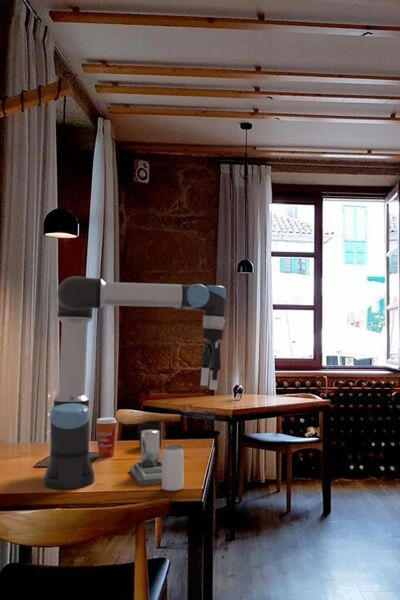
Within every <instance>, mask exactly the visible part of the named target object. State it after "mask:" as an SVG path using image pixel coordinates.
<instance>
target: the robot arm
mask: <svg viewBox="0 0 400 600" xmlns="http://www.w3.org/2000/svg"><path fill="white" fill-rule="evenodd" d="M226 301H227V289H226V287H224V286H222V285H216V284H215V285H212V284H209V285H208V284H207V285H206V286H205V285H203V284H202V283H194V284H177V283H176V284H175V283H174V284H173V283H151V282H150V283H149V282H148V283H144V282H143V283H142V282H139V283H138V282H118V281H117V282H115V281H104V280H103V278H97V277H95V278H94V277H87V276H86V277H84V276H79V275H78V276H77V275H75V276H69V277H67V278H65V279H64V280H63V281H61V283H60V284H59V286H58V288H57V319H58V320H59V321H60V322H61V332H60V333H61V336H60V338H61V339H60V354H59V355H60V359H59V378H58V379H59V381H58V384H59V385H58V394H57V396H55V397H54V398H53V407H52V409H51V410H50V411H51V413H50V416H49V419H50V420H49V421H50V453H49V456H50V457H49V462H48V464H47V466H46V469H45V470H46V471H45V473H44V475H43V476H44V477H43V485H44V486H45V487H47V488H49V489H57V490H62V489H63V490H65V489H66V490H67V489H68V490H69V489H76V488H77V489H78V488H82V487H86V486H89V485H91V484H93V483H94V482H95V470H94V469H93V465H92V461H91V458H90V418H91V417H90V416H91V415H90V398H89V397H88V396H87V395H86V379H87V378H86V375H87V374H86V373H87V372H86V371H87V349H88V348H87V345H88V324H89V323H90V322H91V321H93V313H94V311H93V309H102V308H103V307H104V306H112V307H113V306H115V307H119V306H123V307H161V308H163V307H167V308H168V307H169V308H171V307H172V308H173V309H180V310H190V311H200V312H201V311H202V312H203V317H202V327H203V328H202V331H201V333H202V334H201V338H202V339H203V340H204V342H203V350H202V355H201V359H200V366H201V372H200V373H201V375H200V386H202V387H204V386H205V387H208V386H209V387H208V389H209V390H214V391H218V383H219V371H220V370H221V368H222V365H221V342H219V341H222V340H223V339H224V330H223V328H224V325H225V323H226V320H225V313H226Z"/></svg>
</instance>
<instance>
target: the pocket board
mask: <svg viewBox="0 0 400 600" xmlns="http://www.w3.org/2000/svg"><path fill="white" fill-rule="evenodd" d="M129 472H130V474H131V476H132V477H133V478H134V480H135V481H136V483H137V484H138V486H139V487H141V486H151V485H162V460H159V467H149V468H141V461H137V462H133V465H132V466H129Z"/></svg>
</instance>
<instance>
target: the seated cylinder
mask: <svg viewBox="0 0 400 600" xmlns="http://www.w3.org/2000/svg"><path fill="white" fill-rule="evenodd" d="M140 453H141V454H140V462H141V468H149V467H159V461H160V448H159V430H143V431H141V448H140Z"/></svg>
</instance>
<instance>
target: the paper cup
mask: <svg viewBox="0 0 400 600" xmlns="http://www.w3.org/2000/svg"><path fill="white" fill-rule="evenodd" d="M117 422H118V421H117V419H116V418H115V417H100V418H97V419H96V422H95V423H96V430H97V434H96V435H97V448H98V457H99V458H102V459H105V458H107V459H108V458H113V457H114V456H115V445H116V444H115V442H116V438H115V437H116V425H117Z"/></svg>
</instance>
